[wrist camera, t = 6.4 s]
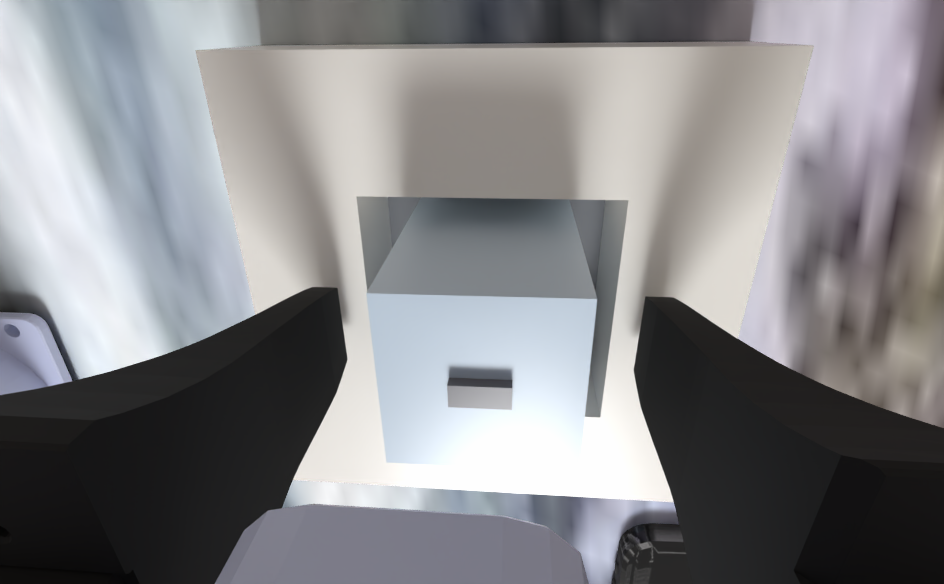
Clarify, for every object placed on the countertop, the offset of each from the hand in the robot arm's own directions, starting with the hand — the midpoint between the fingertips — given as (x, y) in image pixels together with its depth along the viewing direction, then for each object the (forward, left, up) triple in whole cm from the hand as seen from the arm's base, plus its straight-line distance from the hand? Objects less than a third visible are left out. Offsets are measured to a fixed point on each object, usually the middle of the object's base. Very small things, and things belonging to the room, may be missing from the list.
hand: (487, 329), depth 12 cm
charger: (0, 0, -3) cm, 3 cm away
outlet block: (0, 0, -4) cm, 4 cm away
